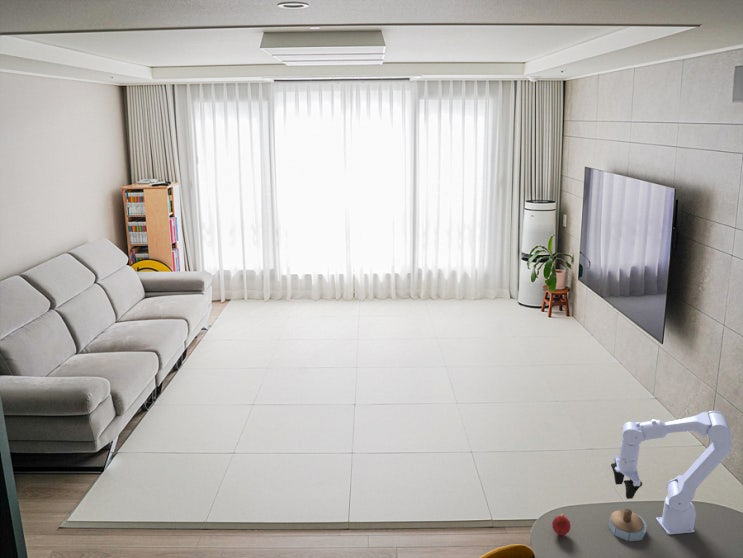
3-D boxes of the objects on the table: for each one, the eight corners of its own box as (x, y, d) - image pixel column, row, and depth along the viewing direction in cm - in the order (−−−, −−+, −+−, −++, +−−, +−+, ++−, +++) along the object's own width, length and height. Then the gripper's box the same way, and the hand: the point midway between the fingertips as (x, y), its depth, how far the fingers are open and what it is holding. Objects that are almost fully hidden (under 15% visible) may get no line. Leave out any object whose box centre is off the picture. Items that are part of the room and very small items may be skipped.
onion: (570, 541, 212) (572, 521, 210) (552, 539, 214) (553, 519, 211) (568, 529, 218) (570, 510, 215) (551, 527, 219) (552, 507, 216)
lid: (633, 510, 222) (635, 500, 220) (648, 531, 212) (650, 520, 211) (605, 513, 221) (607, 502, 219) (619, 533, 212) (620, 522, 210)
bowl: (634, 516, 223) (635, 509, 222) (651, 539, 213) (652, 531, 212) (603, 519, 222) (604, 512, 221) (619, 542, 212) (620, 534, 211)
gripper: (607, 445, 222) (603, 478, 227) (627, 470, 209) (623, 505, 213) (626, 443, 223) (622, 476, 228) (648, 468, 210) (643, 503, 214)
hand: (624, 490), depth 220 cm, fingers open, 7 cm apart
